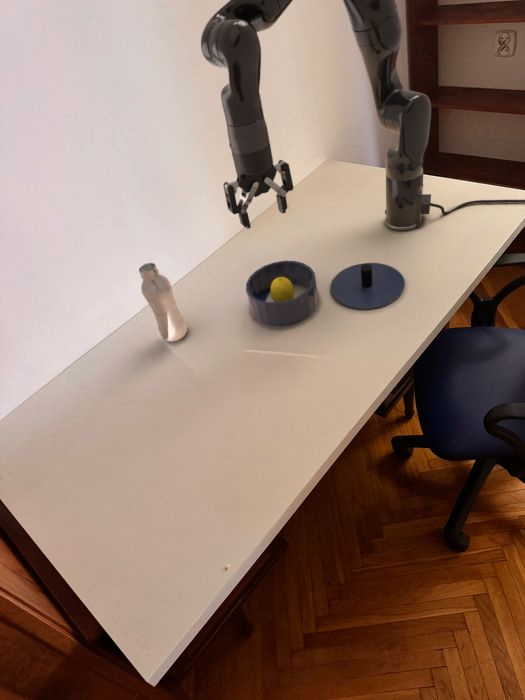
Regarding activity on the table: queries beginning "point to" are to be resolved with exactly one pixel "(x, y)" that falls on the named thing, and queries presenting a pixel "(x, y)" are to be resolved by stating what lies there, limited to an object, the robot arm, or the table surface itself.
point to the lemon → (282, 289)
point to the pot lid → (367, 286)
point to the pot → (284, 310)
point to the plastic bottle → (162, 303)
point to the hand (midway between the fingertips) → (265, 219)
